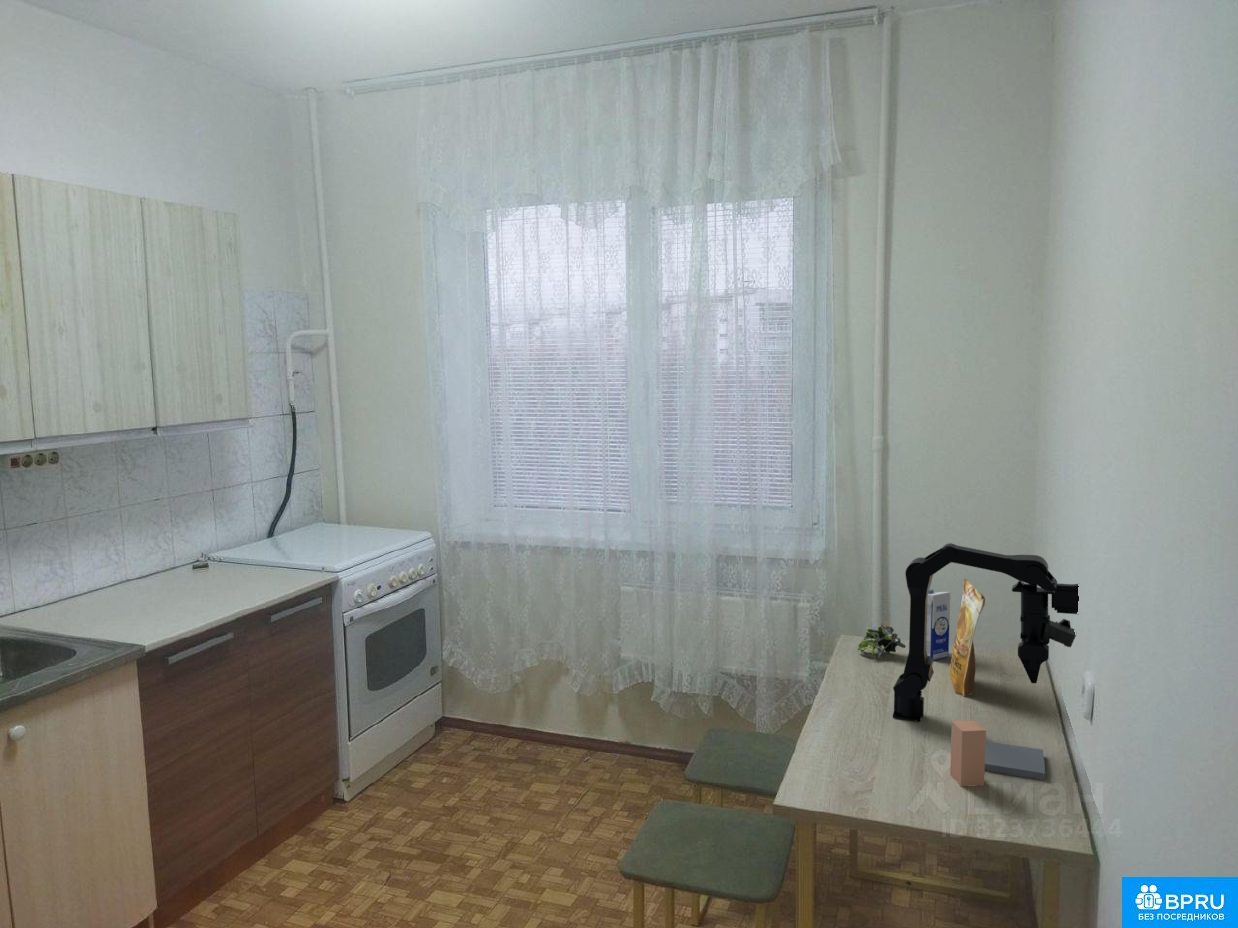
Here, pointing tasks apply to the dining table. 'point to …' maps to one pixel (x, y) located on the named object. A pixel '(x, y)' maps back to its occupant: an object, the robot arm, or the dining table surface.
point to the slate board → (1014, 760)
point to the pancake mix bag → (966, 640)
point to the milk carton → (938, 624)
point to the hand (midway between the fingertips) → (1034, 676)
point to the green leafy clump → (881, 640)
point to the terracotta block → (968, 753)
